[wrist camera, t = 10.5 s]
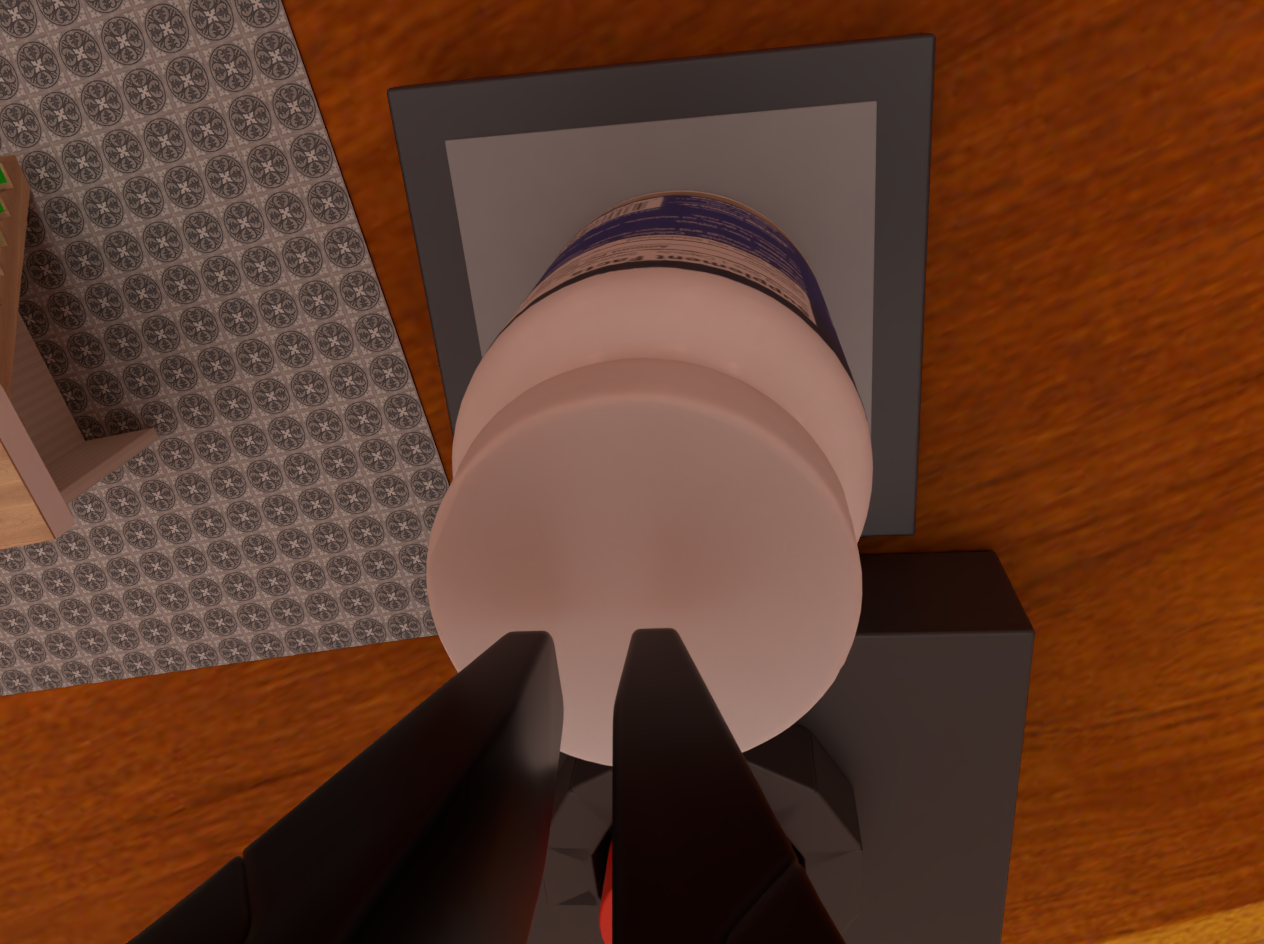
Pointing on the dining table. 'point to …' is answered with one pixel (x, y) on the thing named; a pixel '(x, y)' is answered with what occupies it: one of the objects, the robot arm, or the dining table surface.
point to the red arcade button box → (870, 768)
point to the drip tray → (692, 161)
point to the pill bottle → (662, 470)
